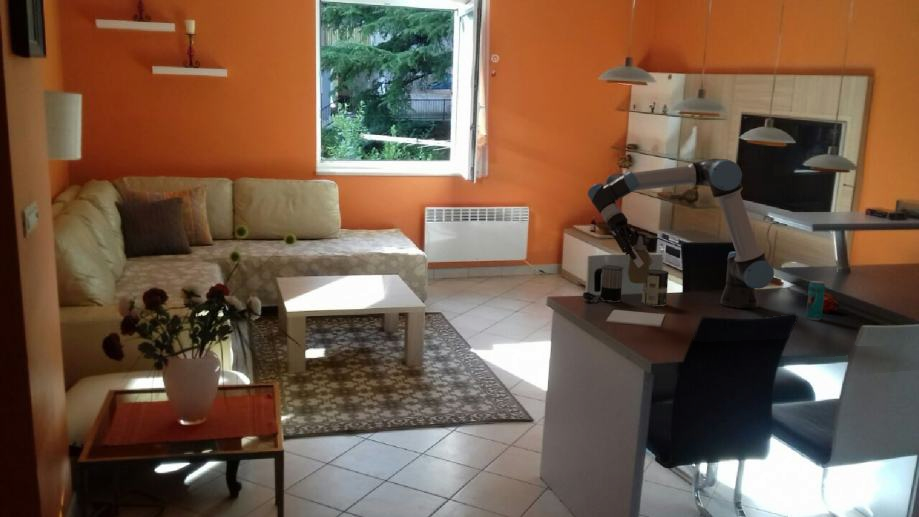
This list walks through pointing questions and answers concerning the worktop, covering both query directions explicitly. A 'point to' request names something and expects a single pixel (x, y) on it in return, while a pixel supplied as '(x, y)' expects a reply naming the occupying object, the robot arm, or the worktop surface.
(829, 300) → the dragon fruit
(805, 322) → the worktop surface
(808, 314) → the beverage can
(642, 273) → the squeeze bottle
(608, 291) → the milk frother
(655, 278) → the coffee can
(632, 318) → the mat
